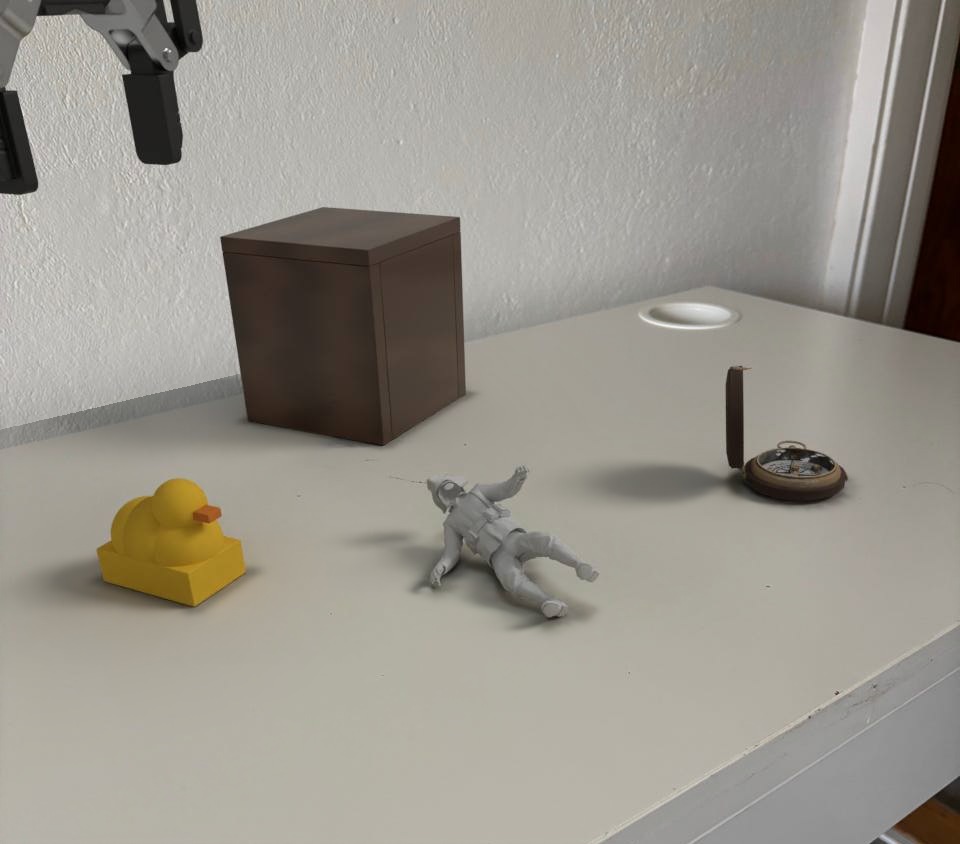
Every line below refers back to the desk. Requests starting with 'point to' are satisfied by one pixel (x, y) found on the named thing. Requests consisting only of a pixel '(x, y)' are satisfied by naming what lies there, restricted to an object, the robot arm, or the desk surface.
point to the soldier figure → (499, 537)
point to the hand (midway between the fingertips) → (92, 177)
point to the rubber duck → (171, 546)
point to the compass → (777, 457)
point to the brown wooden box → (348, 320)
